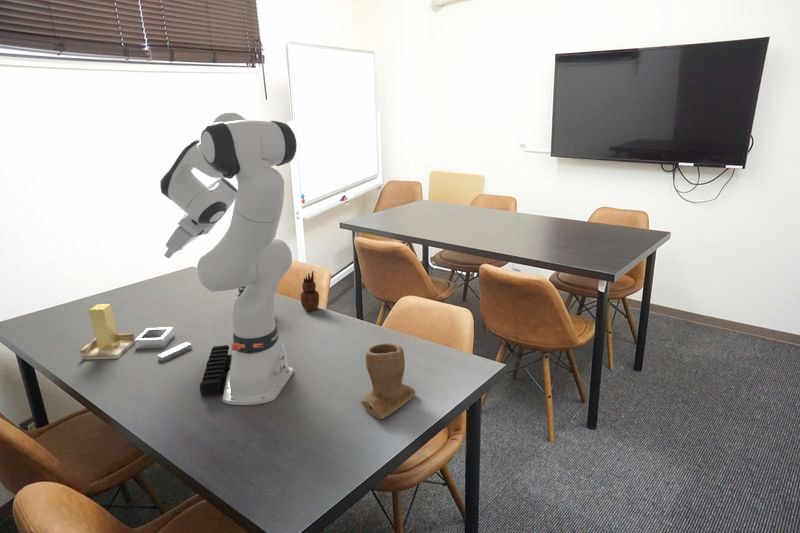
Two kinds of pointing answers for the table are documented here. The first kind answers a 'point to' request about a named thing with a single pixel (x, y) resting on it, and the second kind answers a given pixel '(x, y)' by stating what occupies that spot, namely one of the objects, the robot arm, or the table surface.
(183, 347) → the gray rectangular bar
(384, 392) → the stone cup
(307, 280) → the wooden figurine
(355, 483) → the table surface
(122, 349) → the rack plate
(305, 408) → the table surface
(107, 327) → the yellow wooden block
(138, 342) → the socket collar
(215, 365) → the rail mount
